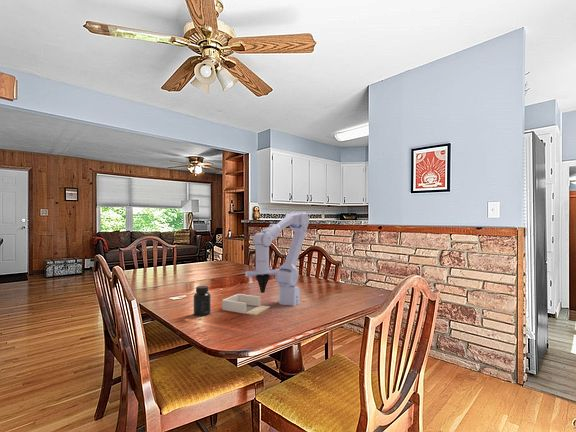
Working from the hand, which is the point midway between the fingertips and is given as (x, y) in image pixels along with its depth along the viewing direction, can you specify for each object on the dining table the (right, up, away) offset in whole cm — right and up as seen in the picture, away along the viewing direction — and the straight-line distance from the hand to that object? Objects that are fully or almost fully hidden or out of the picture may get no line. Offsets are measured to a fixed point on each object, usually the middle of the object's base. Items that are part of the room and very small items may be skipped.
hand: (262, 292), depth 134 cm
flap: (-4, -8, +1) cm, 8 cm away
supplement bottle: (-25, -9, -4) cm, 27 cm away
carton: (-10, -9, +4) cm, 13 cm away
